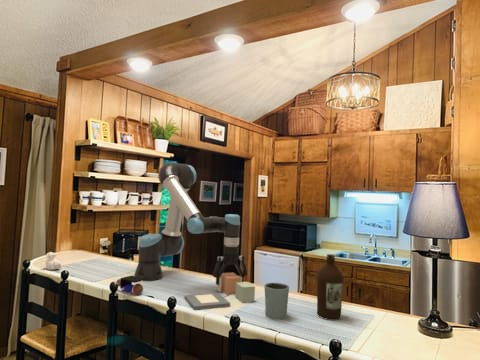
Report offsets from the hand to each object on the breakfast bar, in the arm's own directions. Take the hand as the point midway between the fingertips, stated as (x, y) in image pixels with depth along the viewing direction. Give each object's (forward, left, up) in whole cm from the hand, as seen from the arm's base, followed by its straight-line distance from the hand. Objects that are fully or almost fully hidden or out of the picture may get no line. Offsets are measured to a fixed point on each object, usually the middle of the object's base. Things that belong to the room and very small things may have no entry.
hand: (229, 290), depth 170 cm
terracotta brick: (0, 0, -1) cm, 1 cm away
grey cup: (+36, +6, -1) cm, 37 cm away
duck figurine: (-67, -84, -1) cm, 107 cm away
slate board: (+13, -16, 0) cm, 21 cm away
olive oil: (+43, +27, -1) cm, 51 cm away
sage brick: (+14, +2, -1) cm, 14 cm away
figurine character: (-11, -46, -1) cm, 47 cm away
